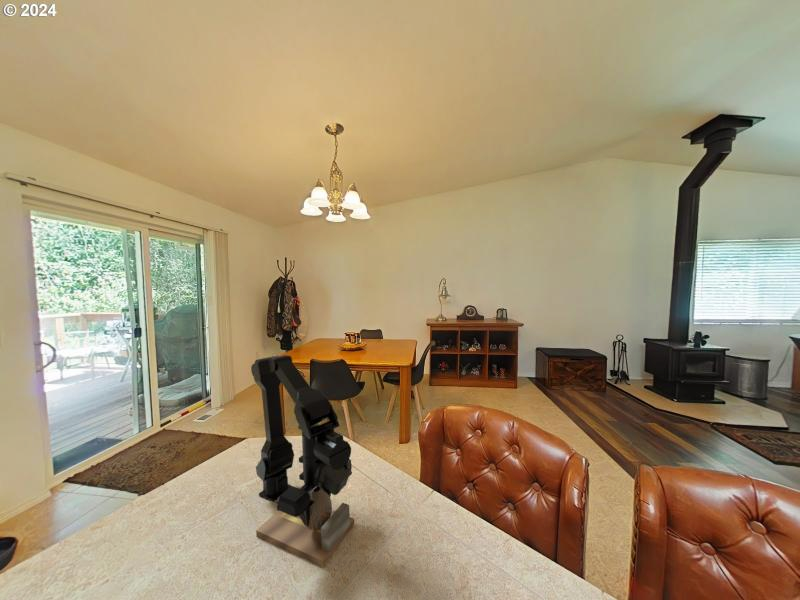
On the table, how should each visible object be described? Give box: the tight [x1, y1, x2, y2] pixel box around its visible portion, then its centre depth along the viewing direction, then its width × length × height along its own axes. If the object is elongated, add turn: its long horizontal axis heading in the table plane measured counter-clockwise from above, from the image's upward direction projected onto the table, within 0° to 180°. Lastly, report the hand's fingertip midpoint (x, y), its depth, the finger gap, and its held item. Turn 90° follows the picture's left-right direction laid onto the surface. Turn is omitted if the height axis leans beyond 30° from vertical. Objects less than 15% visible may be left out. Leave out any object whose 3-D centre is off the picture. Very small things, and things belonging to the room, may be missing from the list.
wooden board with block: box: [255, 502, 355, 569], centre depth 69 cm, size 20×12×6 cm, turn 66°
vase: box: [306, 486, 333, 531], centre depth 68 cm, size 7×7×9 cm
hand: (316, 514), depth 68 cm, fingers closed on vase, 6 cm apart
